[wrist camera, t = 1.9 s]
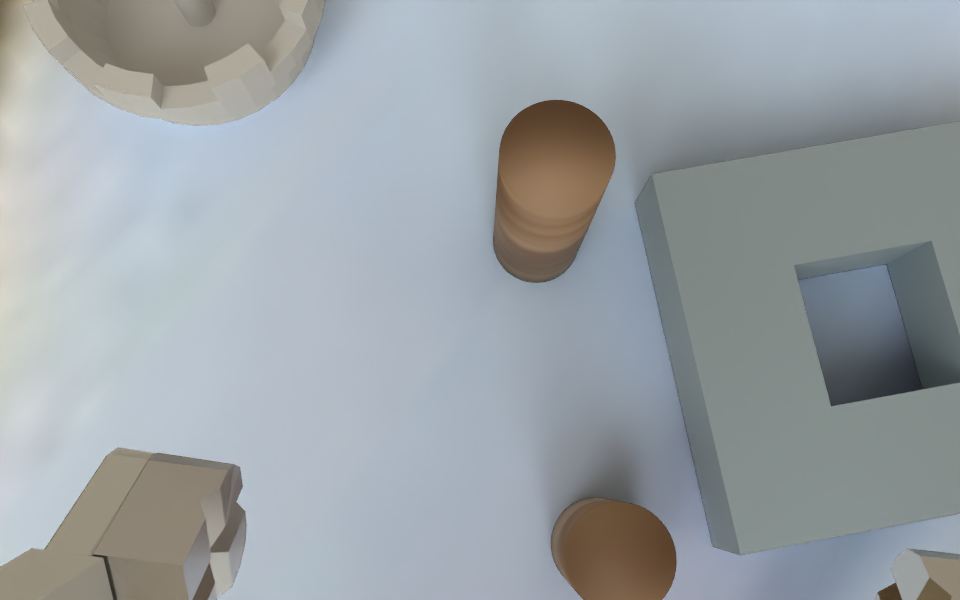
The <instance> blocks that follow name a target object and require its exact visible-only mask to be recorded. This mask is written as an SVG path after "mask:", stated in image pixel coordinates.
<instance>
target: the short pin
mask: <svg viewBox="0 0 960 600" xmlns="http://www.w3.org/2000/svg"><path fill="white" fill-rule="evenodd" d="M551 551H552V556H553V559H554V562H555V565H556V566H557V568H558V570H559V571H560V573H561V574H562V576H563V577H564V578H565V579H566V580H567V581H568V583H569V584H570V585H571V586H572V587H573V588H574V590H575V591H576V592H577V593H578V594H579V595H580V596H581V598H582V599H583V600H662V599H663V598H664V597H665V595H666V594H667V592H668V591H669V589H670V587H671V585H672V582H673V580H674V576H675V572H676V551H675V547H674V543H673V540H672V538H671V535H670V533H669V532H668V530H667V528H666V527H665V526H664V524H663V523H662V522H661V521H660V520H659V519H658V518H657V517H656V516H655V515H654V514H653V513H651V512H650V511H648V510H646V509H645V508H643V507H640V506H638V505H635V504H631V503H626V502H620V501H615V500H609V499H603V498H587V499H583V500H580V501H578V502H575V503H574V504H572V505H570V506H569V507H568V508H566V509H565V510H564V511H563V513H562V514H561V515H560V516H559V518H558V519H557V521H556V523H555V526H554V528H553V532H552V537H551Z"/></svg>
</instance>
